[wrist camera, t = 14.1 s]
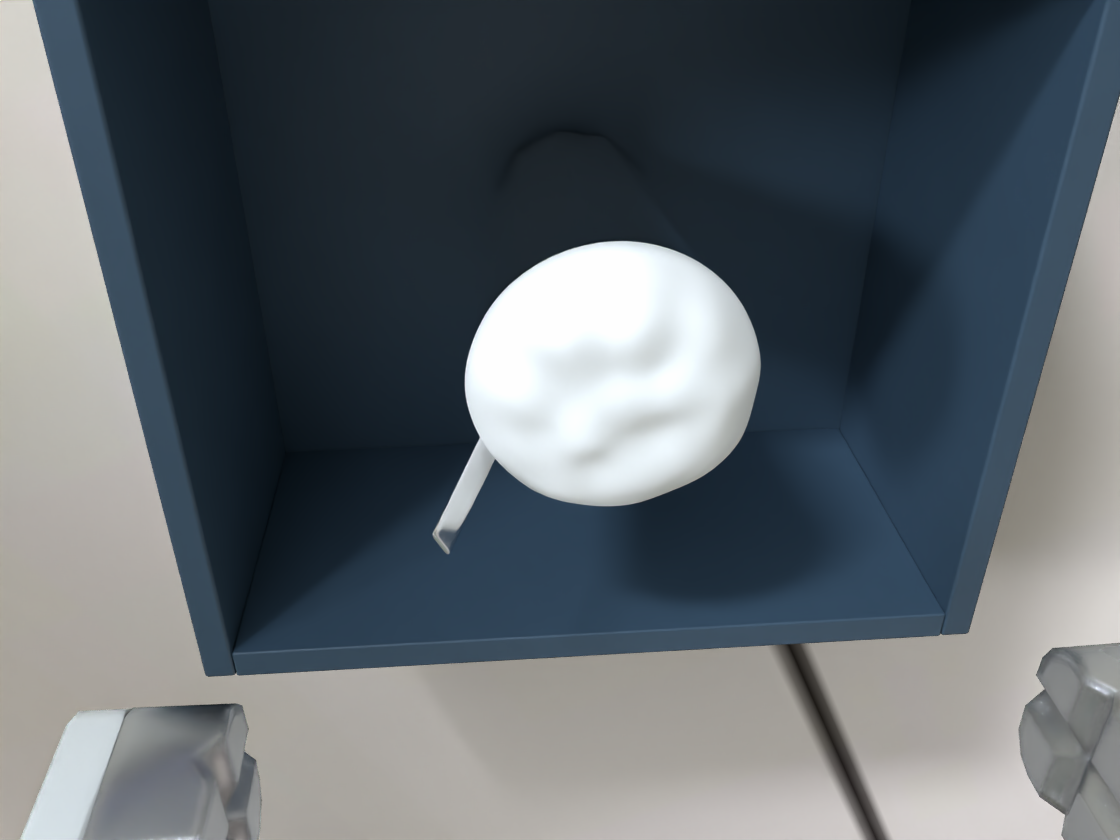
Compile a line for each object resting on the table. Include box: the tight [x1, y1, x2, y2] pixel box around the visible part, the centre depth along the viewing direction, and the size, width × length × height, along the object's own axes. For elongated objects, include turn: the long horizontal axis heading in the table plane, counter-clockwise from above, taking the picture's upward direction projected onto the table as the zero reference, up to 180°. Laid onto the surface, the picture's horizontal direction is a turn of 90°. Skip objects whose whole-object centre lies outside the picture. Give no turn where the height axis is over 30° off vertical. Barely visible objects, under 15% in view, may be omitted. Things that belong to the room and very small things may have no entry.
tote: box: [33, 0, 1120, 677], centre depth 20 cm, size 15×13×8 cm
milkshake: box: [433, 130, 761, 554], centre depth 19 cm, size 4×5×10 cm
